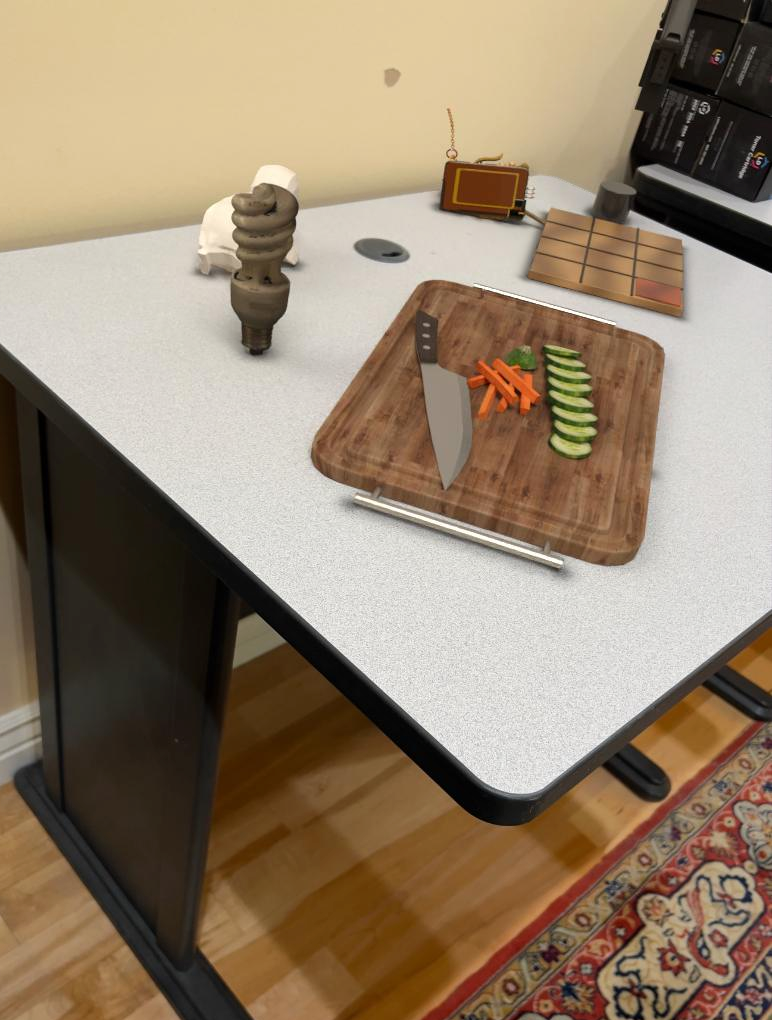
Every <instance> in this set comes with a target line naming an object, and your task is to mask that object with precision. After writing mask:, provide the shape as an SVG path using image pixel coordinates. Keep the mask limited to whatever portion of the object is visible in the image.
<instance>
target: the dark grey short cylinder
mask: <svg viewBox="0 0 772 1020" xmlns="http://www.w3.org/2000/svg"><path fill="white" fill-rule="evenodd" d="M636 196H637V190H636V189H635V188H634V187H632V186H630V185H628V184H625V183H622V182H618V181H613V180H605V181H601V182H600V184H599V187H598V190H597V193H596V196H595V198H594V202H593V205H592V208H591V210H590V215H591V217H592V218H593V217H595V218H596V219H600V220H604V221H608V222H613V223H617V224H621V225H624V224H625V223H626V222H627V220H628V217H629V214H630V211H631V209H632V205H633V203H634V200H635V197H636Z"/></svg>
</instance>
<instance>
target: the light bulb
mask: <svg viewBox="0 0 772 1020" xmlns="http://www.w3.org/2000/svg"><path fill="white" fill-rule="evenodd" d="M238 193H239V194H237V193H235V194H236V195H235V194H233V195H234V196H233V195H232V196H233V197H232V200H231V204H232V206H233V208H234V209H235V210H234V212H233V213H232V216H231V219H232V222H233V224H234V225H235V226H236V228H235V229H234V231H233V233H232V238H233V240H234V241H235V242H236V243H237V244H238V248H237V250H236V257H237V258H238V260H240V261H241V263H242V267H241V268H239V269H236V270H235V271H234V272H233V273H232V272H231V275H230V283H229V284H230V285H229V286H230V287H229V288H230V294H229V295H230V305H231V309H232V310H233V312H234V313H235V315H236V316H237V318H238V321H240V330H241V340H240V344H241V345H242V346H243V347H244V348H246V349H248V351H249V354H250V355H252V356H262V355H263V354H264V352H265V351H269V349H271V347H272V344H273V341H272V340H273V331H274V326H275V325H276V324H277V323H278V322H279V321H280V320H281V319H282V318H283V317H284V316H285V314H286V312H287V309H288V305H289V297H290V292H291V280H290V278H289V277H288V276H287V275H286V274H285V273H283V272H282V264H283V262H284V258H285V257H286V256H287V254H288V252H289V251H290V250H291V248H292V246H294V236H293V235H294V233H295V232H296V229H297V219H296V218H297V216H298V214H299V208H300V204H299V200H298V201H297V199H296V198H295V196H294V195H293V194H292V193H291V192H290V191H288V190H287V189H285V188H283V187H280V186H278V185H274V184H268V183H261V184H259V185H258V186H255V187H254V189H253V193H252V194H251V193H247V192H238Z"/></svg>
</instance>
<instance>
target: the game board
mask: <svg viewBox="0 0 772 1020" xmlns="http://www.w3.org/2000/svg"><path fill="white" fill-rule="evenodd" d="M545 222H546V224H545V225H544V227H543V229H542V232H541V236H540V238H539V242H538V245H537V248H536V250H535V254H534V257H533V260H532V263H531V266H530V269H529V271H528V274H527V279H530V280H534V281H537V282H541V283H545V284H549V285H553V286H557V287H561V288H565V289H569V290H573V291H576V292H579V293H584V294H588V295H591V296H595V297H600V298H604V299H607V300H611V301H615V302H619V303H623V304H627V305H631V306H635V307H639V308H642V309H647V310H649V311H654V312H658V313H662V314H666V315H670V316H674V317H676V318H677V317H678V318H681V316H682V314H683V312H684V283H683V282H684V279H683V278H684V277H683V276H684V275H683V272H684V268H683V255H684V253H683V239H681V238H677V237H673V236H669V235H665V234H661V233H657V232H652V231H649V230H645V229H641V228H640V227H632V226H629V225H624V224H617V223H613V222H608V221H604V220H600V219H596V218H595V217H593V216H589V215H583V214H579V213H575V212H571V211H568V210H564V209H560V208H555V207H552V206H551V207H550V208H549V212H548V214H547V218H546V221H545Z"/></svg>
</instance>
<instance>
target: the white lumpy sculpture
mask: <svg viewBox="0 0 772 1020" xmlns="http://www.w3.org/2000/svg"><path fill="white" fill-rule="evenodd" d="M261 183H268V184H274V185H278V186H280V187H283V188H285V189H287V190H288V191H290V192H291V193H292V194H293V195H294V196H295V198H296V199H297V201H298V202H299V200H300V199H299V198H300V186H299V185H300V183H299V178H298V176H297V173H295V172H294V171H293V170H291V169H290V168H287V167H286V166H284V165H280V164H264V165H262V166H260V167H259V169H258V171H257V172H256V174H255V176H254V178H253V181H252V182H251V184H250V186H249V191H247V192H246V193H251V194H252V193H253V189H254V187H255V186H258V185H259V184H261ZM239 193H240V192H238V193H234V194H233V195H231V196H226V197H223V198H222V200H219V201H217V202H215V203H214V204H212V205H211V206H210V207H208V208H207V209H206V211H205V213H204V215H203V218H202V223H201V226H200V232H199V236H198V250H197V254H198V257H199V259H200V261H199V265H198V266H199V268H200V273H201V274H204V275H206V276H209V275H210V271H211V268H212V267H216V268H221V269H224V270H225V271H227V272H230V273H231V274H232V273H233V272H234V271H235V270H236V269H239V268H241V267H242V263H241V261H240V260H238V258H237V257H236V250H237V248H238V244H237V243H236V242H235V241H234V240H233V238H232V233H233V231H234V229H235V228H236V226H235V225H234V224H233V222H232V219H231V216H232V213H233V212H234V210H235V209H234V208H233V206H232V204H231V200H232V197H233V196H234V195H236V194H239ZM299 259H300V256H299V253H298V252H297V250H296V248H295V246H294V245H293V246H292V248H291V250H290V251H289V252H288V254H287V256H286V257H285V258H284V260H283V262H286V263H288V264H290V265H292V266H296V264H297V263H298V261H299Z"/></svg>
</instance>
